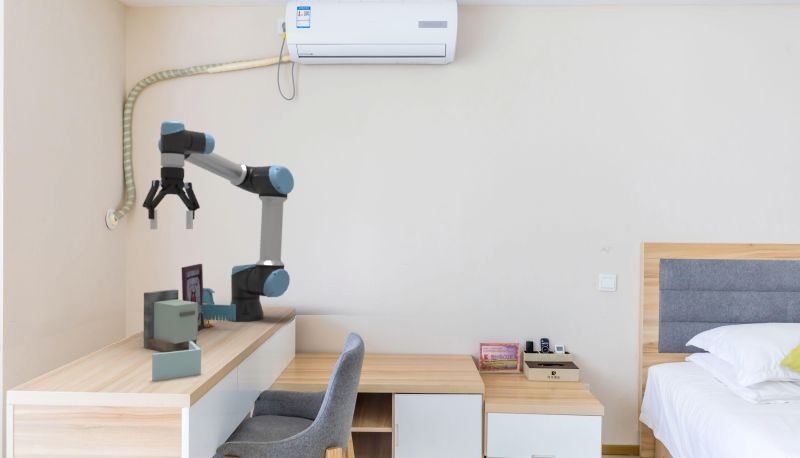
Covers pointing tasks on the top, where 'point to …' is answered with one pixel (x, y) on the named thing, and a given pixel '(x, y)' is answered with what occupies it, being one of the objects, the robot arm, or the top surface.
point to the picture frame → (193, 288)
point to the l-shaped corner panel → (177, 363)
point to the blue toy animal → (215, 309)
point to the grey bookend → (149, 322)
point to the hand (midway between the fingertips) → (172, 229)
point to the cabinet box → (175, 321)
